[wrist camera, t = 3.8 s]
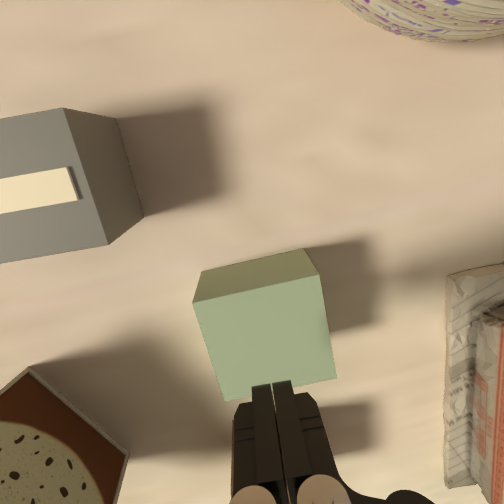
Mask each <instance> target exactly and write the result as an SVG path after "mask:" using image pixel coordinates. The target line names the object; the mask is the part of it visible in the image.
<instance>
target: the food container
mask: <svg viewBox="0 0 504 504" xmlns="http://www.w3.org/2000/svg"><path fill="white" fill-rule="evenodd" d="M129 454H130V453H129V452H128V451H127V450H126V449H125V448H123V447H122V446H121V445H120V444H119V443H118V442H116V441H115V440H114V439H113V438H112V437H111V436H109V435H108V434H107V433H106V432H105V431H104V430H102V429H101V428H100V427H99V426H98V425H97V424H95V423H94V422H93V421H92V420H91V419H90V418H89V417H87V416H86V415H85V414H84V413H83V412H82V411H80V410H79V409H78V408H77V407H76V406H75V405H73V404H72V403H71V402H70V401H69V400H68V399H66V398H65V397H64V396H63V395H62V394H61V393H59V392H58V391H57V390H56V389H55V388H54V387H52V386H51V385H50V384H49V383H48V382H47V381H46V380H44V379H43V378H42V377H41V376H40V375H39V374H37V373H36V372H35V371H34V370H33V369H32V368H30V367H27V368H26V369H25V370H24V371H23V372H21V373H20V374H19V375H18V376H17V377H15V378H14V379H13V380H12V381H11V382H9V383H8V384H7V385H6V386H5V387H4V388H2V389H1V390H0V504H117V501H118V497H119V493H120V489H121V485H122V481H123V478H124V474H125V470H126V466H127V462H128V458H129Z"/></svg>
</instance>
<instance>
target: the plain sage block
mask: <svg viewBox="0 0 504 504" xmlns="http://www.w3.org/2000/svg"><path fill="white" fill-rule="evenodd" d="M192 304H193V307H194V310H195V313H196V316H197V319H198V322H199V325H200V328H201V331H202V335H203V338H204V341H205V344H206V347H207V350H208V353H209V356H210V359H211V362H212V365H213V368H214V371H215V374H216V377H217V380H218V383H219V386H220V389H221V392H222V395H223V398H224V401H225V402H227V401H232V400H236V399H241V398H246V397H251V396H252V386H257V385H263V384H269V383H270V384H271V389H272V392H273V387H272V383H274V382H280V381H286V380H291V384H292V388H293V387H298V386H302V385H307V384H312V383H317V382H321V381H326V380H331V379H336V378H337V375H336V369H335V364H334V358H333V352H332V346H331V340H330V334H329V328H328V323H327V317H326V311H325V305H324V299H323V293H322V288H321V282H320V276H319V273H318V272H317V270H316V268H315V267H314V265H313V264H312V262H311V260H310V259H309V257H308V255H307V254H306V252H305V251H304V249H303V248H302V249H298V250H294V251H289V252H285V253H281V254H276V255H272V256H267V257H263V258H259V259H254V260H250V261H246V262H241V263H237V264H232V265H228V266H224V267H219V268H215V269H211V270H206V271H202V272H201V275H200V278H199V282H198V285H197V289H196V292H195V295H194V299H193V302H192Z"/></svg>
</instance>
